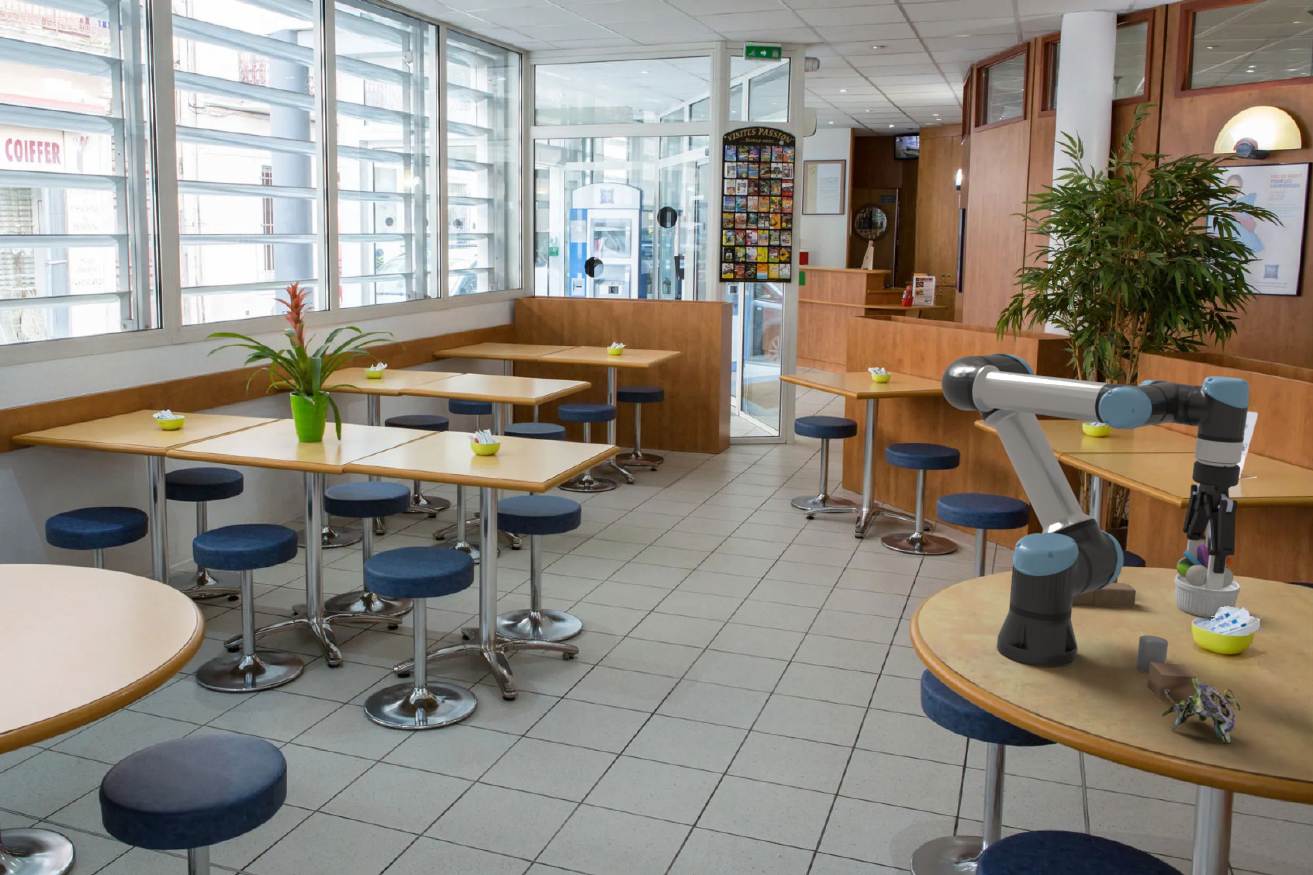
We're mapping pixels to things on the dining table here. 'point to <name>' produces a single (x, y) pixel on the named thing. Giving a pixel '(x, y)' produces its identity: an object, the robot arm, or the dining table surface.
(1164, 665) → the walnut block
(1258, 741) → the dining table surface
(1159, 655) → the grey cylinder
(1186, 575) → the rainbow cloud toy
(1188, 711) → the passion flower
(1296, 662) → the dining table surface
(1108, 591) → the wooden block set
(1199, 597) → the ramekin
